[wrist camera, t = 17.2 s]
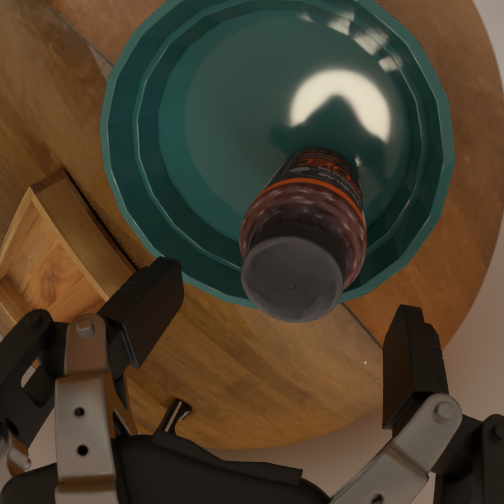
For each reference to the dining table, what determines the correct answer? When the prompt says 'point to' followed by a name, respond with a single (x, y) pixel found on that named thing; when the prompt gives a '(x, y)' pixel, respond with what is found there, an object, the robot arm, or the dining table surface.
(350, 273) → the supplement bottle
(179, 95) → the bowl
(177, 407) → the battery charger
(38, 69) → the dining table surface
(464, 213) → the dining table surface
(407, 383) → the robot arm
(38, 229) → the tray
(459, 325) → the dining table surface
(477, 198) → the dining table surface
